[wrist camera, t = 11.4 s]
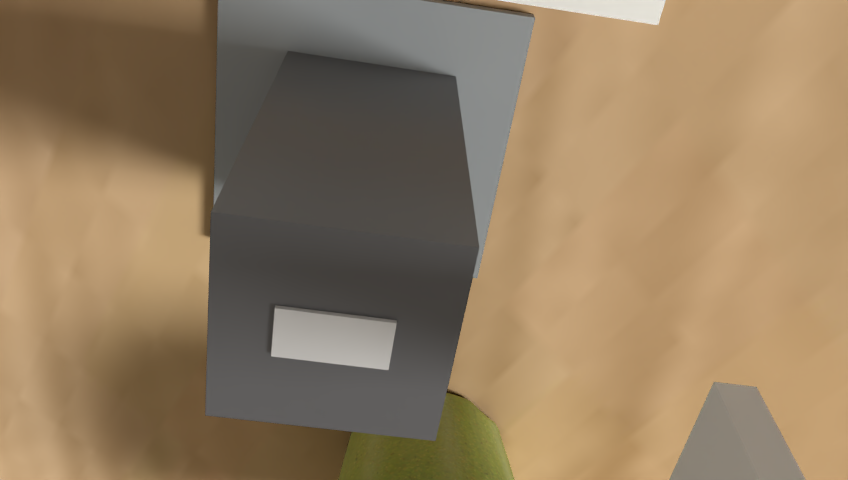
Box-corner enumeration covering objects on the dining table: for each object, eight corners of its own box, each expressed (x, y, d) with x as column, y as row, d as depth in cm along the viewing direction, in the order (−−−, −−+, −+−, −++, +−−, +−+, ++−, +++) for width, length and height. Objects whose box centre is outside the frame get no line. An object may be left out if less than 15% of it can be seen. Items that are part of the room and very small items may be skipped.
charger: (287, 50, 23) (209, 214, 14) (455, 76, 23) (479, 250, 15) (276, 201, 25) (204, 418, 17) (428, 221, 26) (435, 444, 17)
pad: (222, -34, 22) (218, -31, 22) (533, 14, 23) (535, 17, 23) (215, 239, 27) (212, 245, 26) (476, 271, 27) (477, 278, 27)
